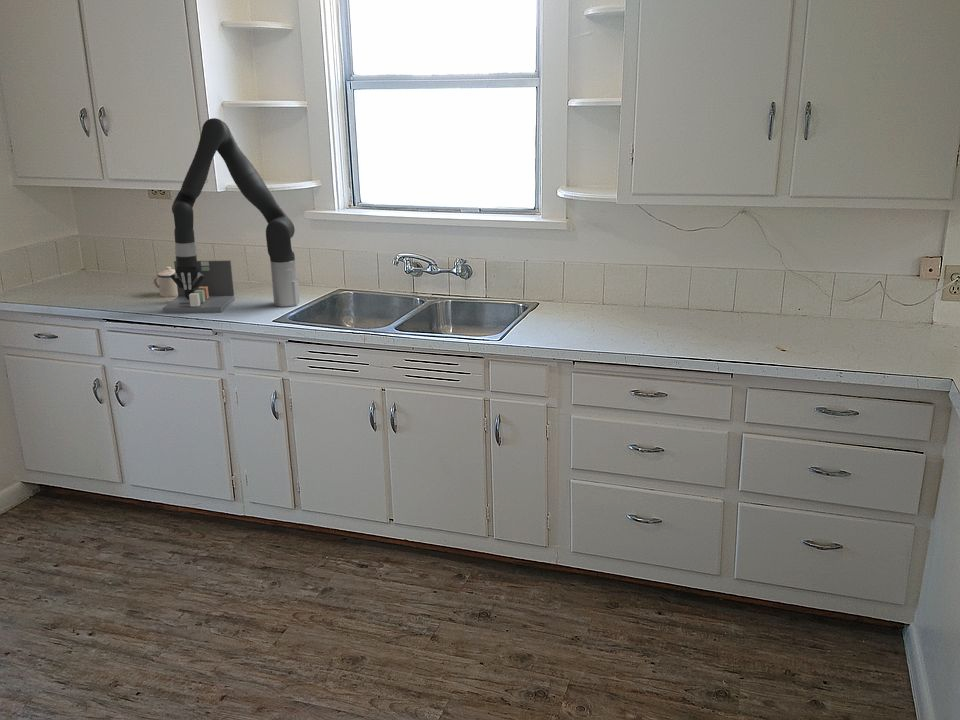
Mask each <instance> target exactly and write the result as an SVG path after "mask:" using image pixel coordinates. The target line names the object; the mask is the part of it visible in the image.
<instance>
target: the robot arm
mask: <svg viewBox="0 0 960 720" xmlns="http://www.w3.org/2000/svg"><path fill="white" fill-rule="evenodd" d="M217 152H218V154H219V155H220V157H221V158H222V160H223V161H224V163H225V166H226V168H227V170H228V172H229V174H230V176H231V178H232V180H233V182H234V184H235V185H236V187H237V189H239V191H240V193H241V194H242V195H243V197H244V198H245V199H246V200H247V201H248V202H249V203H250V204H251V205H252V206H254V207H255V208H256V209H257V210H258V211H259V212H260V213H261V215H262V216H263V217H264V219H265V221H266V223H267V225H266V229H265V239H266V247H267V248H266V249H267V254H268V256H269V259H270V260H269V261H270V271H271V272H270V274H271V284H272V294H273V295H272V296H273V305H274V306H275V307H293V306H297V305H298V304H299V303H300V293H299V292H300V290H299V281H298V278H297V273H296V259H295V257H296V256H295V252H294V251H293V249H292V242H291V241H292V240H291V239H293V237H294V236H295V232H296V231H295V225H294V223H293V221H292V220H291V219H290V218H289V216H288V215H287V213H285V211H284V210H283V209H282V208H281V206H280V205H279V204H278V202H277V201H276V199H275V198H274V196H273V194H272V192H271V191H270V189H269V188H268V186H267V185H266V183H265V182H264V180H263V178H262V177H261V175H260V174H259V172H258V171H257V169H256V168H255V167H254V164H252V162H251V161H250V160H249V159H248V157H247V156H246V155H245V154H244V152H243V151H242V150H241V148H240V147H239V145H238V143H237V142H236V140H235V138H234V136H233V134H232V132H231V130H230V128H229V126H228V125H227V123H226V122H225V121H224V120H221V119H220V118H215V117H214V118H209V119H207V120H206V121H205V122H204V123H203V125H202V128H201V133H200V137H199V141H198V144H197V149H196V151H195V154H194V157H193V159H192V161H191V163H190V166H189V168H188V171H187V173H186V175H185V177H184V179H183V182H182V183H181V187H180V189H179V192H178V194H177V195H176V197H175V198H174V201H173V203H172V205H171V206H172V207H171V213H172V214H173V219H174V254H175V261H176V267H177V268H176V272H175V273H174V274H172V275H171V276H170V277H171V278H172V279H173V281H174V282H175V283H176V284H177V285H178V286H179V288H183V289H184V290H185V297H186V298H187V299H189V294H191V293H193V289H194V288H196V287H198V285H199V284H200V283H201V281H202V280H203V279H204V277H205V275H204V274H203V275H202V274H201V273H199V270H198V268H197V261H198V258H197V246H196V241H195V240H196V239H195V231H194V230H195V229H194V210H193V208H194V204H195V203H196V201H197V198H199V196H200V195H201V193H202V191H203V189H204V186H205V184H206V181H207V178H208V175H209V172H210V168H211V165H212V161H213V159H214V156H215V154H216V153H217ZM197 275H198V277H197V278H198V280H197V281H196V283H195V284H194V285H193V283H194V279H195V278H196V276H197ZM178 276H179V277H180V278H181V279H182V282H181V280H180V279H179V278H178Z"/></svg>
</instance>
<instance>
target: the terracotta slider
mask: <svg viewBox="0 0 960 720" xmlns="http://www.w3.org/2000/svg"><path fill="white" fill-rule="evenodd" d="M198 290H204V293H205V299H208V298H209V293H208V286H206V287H199V288H198Z"/></svg>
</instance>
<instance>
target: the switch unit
mask: <svg viewBox="0 0 960 720" xmlns="http://www.w3.org/2000/svg"><path fill="white" fill-rule="evenodd" d="M173 264H174V270H175V272H176V268H177V267H176V260H174V262H173ZM197 268H198V270H199V273H201V274H202V275H203V274H204V275H205V277H204V279H203V280H202V281H201V283H200V284H199V285H198V287H196V288H194V289H193V293H194V291H195V290H198V288H199V287H206V286H208V293H209V298H208V299H205V302H204V303H200V305H199V306H190V299H187V298H186V297H185V290H184V289H183V288H179V286H178V285H177V290H178V296H176V297H175V298H174V299H173V300H171V301H170V302H169V303H167V304H166V305H164V306H163V307H162V313H163V314H183V313H184V314H185V313H186V314H193V313H196V312H198V314H199V313H200V314H201V313H203V312H209V313H223V312H224V311H225V310H226V309H227V308H228V307H229V306H230V305H231V304H232V303H233V302H235V300H236V298H235V297H236V296H235V289H234V288H235V287H234V277H233V268H232V261H231V260H229V259H228V260H225V259H224V260H197ZM197 277H198V275H197V276H196V278H195V279H194V283H193V285H194V284H195V283H196V281H197V280H198V278H197ZM178 278H179V279H180V280H181V282H182V279H181V278H180V277H179V276H178ZM196 314H197V313H196ZM203 314H204V313H203Z"/></svg>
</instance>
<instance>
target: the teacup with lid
mask: <svg viewBox="0 0 960 720" xmlns="http://www.w3.org/2000/svg"><path fill="white" fill-rule="evenodd" d="M174 273H175V268H172V267H171V266H165V268H164V269H163V270H161V271H160V272H158V273H156V275H157V276H155V277H154V278H153V284H154V286H155V288H157V289H159V294H160V297H163V298H174V297H175V298H177V297H178V290H177V284H176V283H175V282H174V281H173V279H172V278H171V277H170V276H171V275H172V274H174ZM157 280H158V282H157Z"/></svg>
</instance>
